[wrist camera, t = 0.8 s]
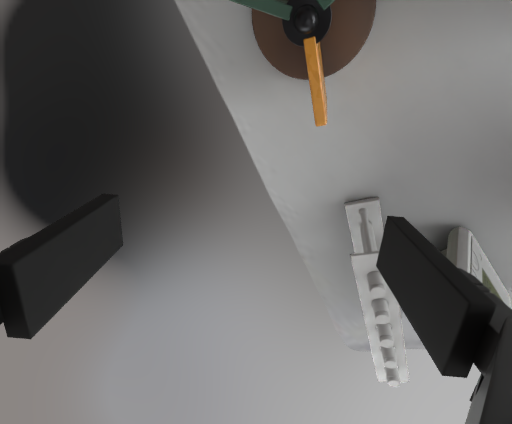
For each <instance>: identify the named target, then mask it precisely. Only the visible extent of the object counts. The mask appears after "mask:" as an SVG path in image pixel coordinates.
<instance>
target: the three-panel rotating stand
mask: <svg viewBox="0 0 512 424" xmlns="http://www.w3.org/2000/svg"><path fill="white" fill-rule="evenodd" d="M230 1H233V2H236V3H239V4H242V5H244V6H247V7H250V8H253V9H256V10H259V11H262V12H265V13H267V14H270V15H273V16H276V17H279V18H282V26H283V30H284V33H285V35H286V36H287V38H288V39H289V40H290V41H291V42H292V43H293V44H295V45H297V46H300V47H304V50H305V56H306V63H307V70H308V77H309V84H310V90H311V97H312V104H313V111H314V118H315V125H316V126H323V125H326V123H327V97H326V89H325V81H324V73H323V64H322V56H321V48H320V41H321V40H322V39H323V38H324V37H325V36H326V34H327V32H328V31H329V28H330V25H331V21H332V10H331V6H330V5H331V4H332V3H333V2H334V1H335V0H230Z"/></svg>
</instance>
